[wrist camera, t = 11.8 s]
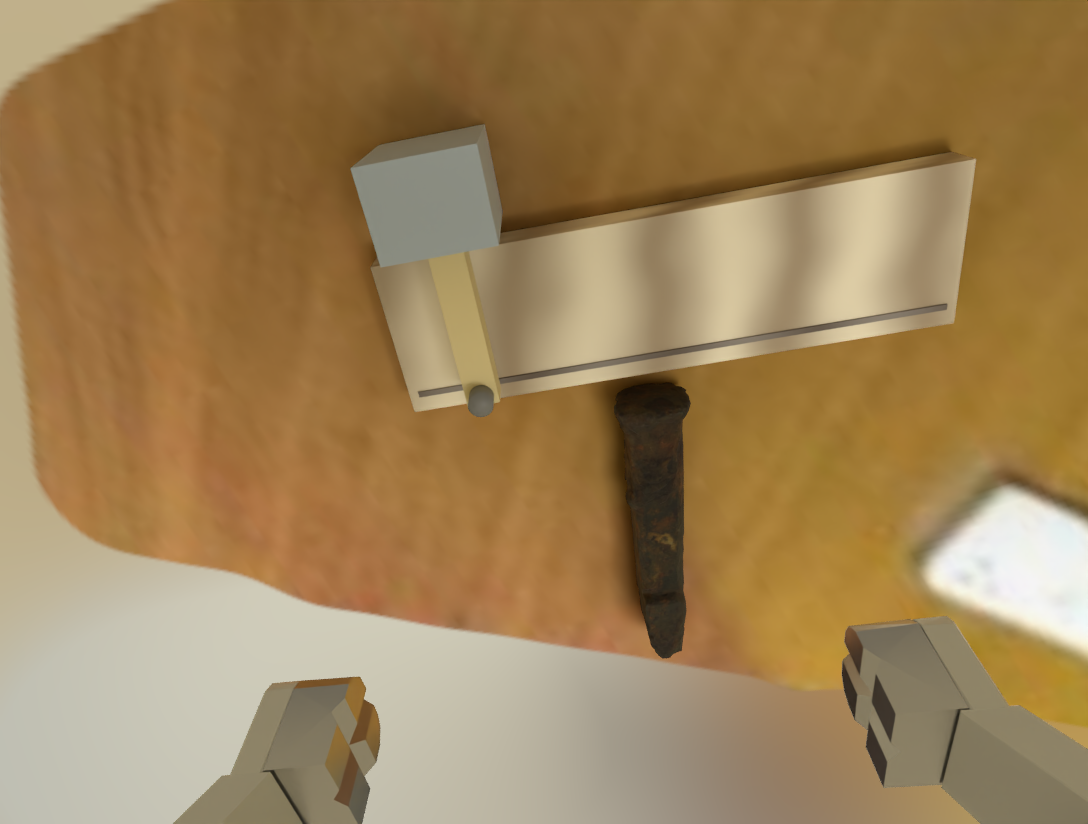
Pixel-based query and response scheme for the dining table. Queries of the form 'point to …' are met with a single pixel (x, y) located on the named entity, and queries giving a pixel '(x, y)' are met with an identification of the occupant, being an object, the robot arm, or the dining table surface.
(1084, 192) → the dining table surface
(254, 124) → the dining table surface
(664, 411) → the rusty railroad spike
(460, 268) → the grey mallet
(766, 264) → the board
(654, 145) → the dining table surface
